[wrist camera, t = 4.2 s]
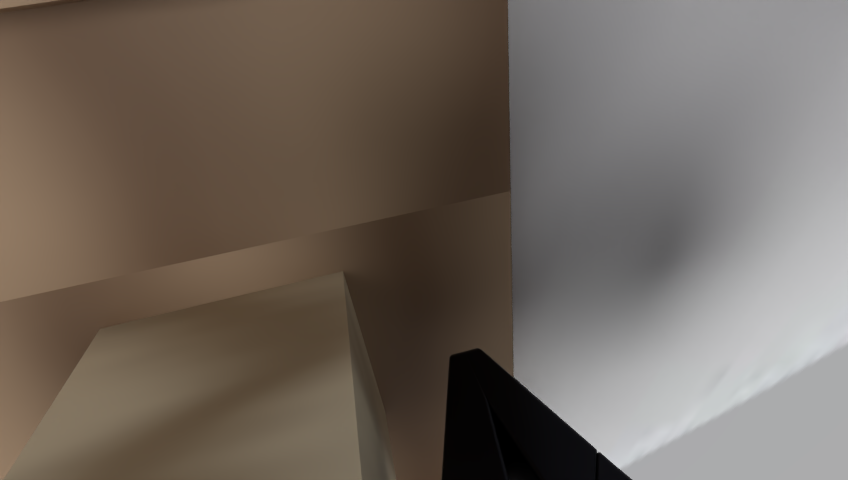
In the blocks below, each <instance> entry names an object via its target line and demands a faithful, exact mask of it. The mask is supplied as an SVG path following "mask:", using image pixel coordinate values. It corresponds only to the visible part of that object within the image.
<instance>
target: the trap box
mask: <svg viewBox="0 0 848 480" xmlns="http://www.w3.org/2000/svg"><path fill="white" fill-rule="evenodd" d="M341 271H343V273H344V276H345V280H346V283H347V286H348V290H349V293H350V296H351V300H352V303H353V306H354V309H355V313H356V316H357V319H358V323H359V326H360V329H361V333H362V336H363V339H364V343H365V346H366V349H367V353H368V356H369V359H370V363H371V366H372V369H373V373H374V376H375V379H376V383H377V386H378V389H379V393H380V396H381V399H382V403H383V406H384V409H385V413H386V419H387V425H388V431H389V438H390V444H391V450H392V456H393V463H394V469H395V475H396V480H441V479H442V463H443V448H444V432H445V417H446V401H447V386H448V370H449V357H450V356H451V355H452V354H456V353H460V352H465V351H468V350H471V349H475V348H479V349H481V350H483V351H484V352H485V353H486V354H487V355H488V356H490V357H491V358H492V359H493V360H494V361H495V362H496V363H498V364H499V365H500V366H501V367H502V368H503V369H504V370H506V371H507V372H508V373H509V374H510V375H511V376H513V314H512V250H511V185H510V121H509V56H508V0H0V480H4V478H5V476H6V475H7V473H8V472H9V470H10V469H11V467H12V465H13V464H14V462H15V461H16V459H17V458H18V456H19V455H20V453H21V451H22V450H23V448H24V447H25V445H26V444H27V442H28V441H29V439H30V437H31V436H32V434H33V433H34V431H35V430H36V428H37V426H38V425H39V423H40V422H41V420H42V419H43V417H44V416H45V414H46V412H47V411H48V409H49V408H50V406H51V405H52V403H53V401H54V400H55V398H56V397H57V395H58V394H59V392H60V391H61V389H62V387H63V386H64V384H65V383H66V381H67V380H68V378H69V377H70V375H71V373H72V372H73V370H74V369H75V367H76V366H77V364H78V362H79V361H80V359H81V358H82V356H83V355H84V353H85V352H86V350H87V348H88V347H89V345H90V344H91V342H92V341H93V339H94V337H95V336H96V334H97V333H98V331H99V330H100V329H102V328H106V327H110V326H114V325H118V324H123V323H127V322H131V321H135V320H139V319H144V318H148V317H152V316H156V315H160V314H165V313H169V312H173V311H177V310H181V309H186V308H190V307H194V306H198V305H202V304H207V303H211V302H215V301H219V300H223V299H228V298H232V297H236V296H240V295H244V294H249V293H253V292H257V291H261V290H265V289H270V288H274V287H278V286H282V285H286V284H291V283H295V282H299V281H303V280H307V279H312V278H316V277H320V276H324V275H328V274H333V273H337V272H341Z"/></svg>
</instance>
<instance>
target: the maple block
mask: <svg viewBox="0 0 848 480" xmlns="http://www.w3.org/2000/svg"><path fill="white" fill-rule="evenodd" d="M4 480H396V475H395V469H394V463H393V456H392V450H391V444H390V438H389V431H388V425H387V419H386V413H385V409H384V406H383V403H382V399H381V396H380V393H379V389H378V386H377V383H376V379H375V376H374V373H373V369H372V366H371V363H370V359H369V356H368V353H367V349H366V346H365V343H364V339H363V336H362V333H361V329H360V326H359V323H358V319H357V316H356V313H355V309H354V306H353V303H352V300H351V296H350V293H349V290H348V286H347V283H346V280H345V276H344V273H343V271H341V272H337V273H333V274H328V275H324V276H320V277H316V278H312V279H307V280H303V281H299V282H295V283H291V284H286V285H282V286H278V287H274V288H270V289H265V290H261V291H257V292H253V293H249V294H244V295H240V296H236V297H232V298H228V299H223V300H219V301H215V302H211V303H207V304H202V305H198V306H194V307H190V308H186V309H181V310H177V311H173V312H169V313H165V314H160V315H156V316H152V317H148V318H144V319H139V320H135V321H131V322H127V323H123V324H118V325H114V326H110V327H106V328H102V329H100V330H99V331H98V333H97V334H96V336H95V337H94V339H93V341H92V342H91V344H90V345H89V347H88V348H87V350H86V352H85V353H84V355H83V356H82V358H81V359H80V361H79V362H78V364H77V366H76V367H75V369H74V370H73V372H72V373H71V375H70V377H69V378H68V380H67V381H66V383H65V384H64V386H63V387H62V389H61V391H60V392H59V394H58V395H57V397H56V398H55V400H54V401H53V403H52V405H51V406H50V408H49V409H48V411H47V412H46V414H45V416H44V417H43V419H42V420H41V422H40V423H39V425H38V426H37V428H36V430H35V431H34V433H33V434H32V436H31V437H30V439H29V441H28V442H27V444H26V445H25V447H24V448H23V450H22V451H21V453H20V455H19V456H18V458H17V459H16V461H15V462H14V464H13V465H12V467H11V469H10V470H9V472H8V473H7V475H6V476H5V478H4Z"/></svg>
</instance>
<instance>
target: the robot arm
mask: <svg viewBox="0 0 848 480" xmlns="http://www.w3.org/2000/svg"><path fill="white" fill-rule="evenodd" d="M441 480H632V479H631V478H630V477H628V476H627V475H626V474H625V473H623V472H622V471H621V470H620V469H619V468H617V467H616V466H615V465H614V464H613V463H612V462H610V461H609V460H608V459H607V458H606V457H605V456H604V455H602V454H601V453H600V452H598V453H597V450H596V449H595V448H594V447H593V446H592V445H591V444H590V443H588V442H587V441H586V440H585V439H584V438H583V437H582V436H580V435H579V434H578V433H577V432H576V431H575V430H574V429H572V428H571V427H570V426H569V425H568V424H567V423H565V422H564V421H563V420H562V419H561V418H560V417H559V416H557V415H556V414H555V413H554V412H553V411H552V410H551V409H549V408H548V407H547V406H546V405H545V404H544V403H542V402H541V401H540V400H539V399H538V398H537V397H536V396H534V395H533V394H532V393H531V392H530V391H529V390H528V389H526V388H525V387H524V386H523V385H522V384H521V383H519V382H518V381H517V380H516V379H515V378H514V377H513V376H511V375H510V374H509V373H508V372H507V371H506V370H504V369H503V368H502V367H501V366H500V365H499V364H498V363H496V362H495V361H494V360H493V359H492V358H491V357H490V356H488V355H487V354H486V353H485V352H484V351H483V350H481V349H479V348H475V349H471V350H468V351H465V352H460V353H456V354H452V355H451V356H450V357H449V370H448V386H447V401H446V417H445V432H444V448H443V463H442V479H441Z"/></svg>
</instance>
